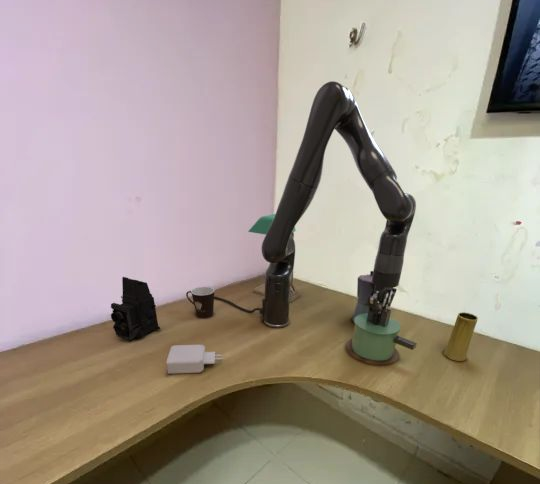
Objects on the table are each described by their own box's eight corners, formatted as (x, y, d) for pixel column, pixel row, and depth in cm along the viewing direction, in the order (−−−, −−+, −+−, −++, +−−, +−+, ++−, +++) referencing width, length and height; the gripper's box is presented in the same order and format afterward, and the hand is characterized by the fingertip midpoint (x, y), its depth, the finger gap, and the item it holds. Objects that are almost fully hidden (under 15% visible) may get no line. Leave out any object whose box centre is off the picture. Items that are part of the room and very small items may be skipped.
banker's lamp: (286, 304, 131) (290, 220, 116) (246, 293, 142) (246, 214, 126) (303, 293, 143) (309, 215, 128) (266, 284, 154) (267, 210, 138)
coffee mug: (220, 315, 121) (218, 291, 117) (200, 321, 116) (198, 297, 112) (205, 305, 129) (203, 283, 125) (186, 311, 124) (183, 287, 120)
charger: (222, 373, 88) (168, 375, 87) (223, 355, 96) (174, 357, 95) (221, 359, 86) (166, 361, 85) (222, 342, 94) (172, 343, 93)
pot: (341, 348, 100) (347, 307, 93) (364, 334, 108) (371, 295, 102) (398, 375, 87) (410, 330, 81) (419, 357, 96) (430, 314, 90)
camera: (110, 339, 103) (96, 282, 94) (142, 323, 114) (132, 270, 105) (131, 347, 99) (119, 289, 90) (162, 329, 110) (154, 275, 101)
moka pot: (373, 314, 125) (382, 266, 116) (381, 332, 111) (392, 280, 102) (349, 312, 126) (356, 265, 117) (354, 331, 112) (363, 278, 103)
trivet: (339, 354, 98) (339, 353, 97) (355, 334, 110) (355, 332, 110) (391, 372, 90) (392, 370, 90) (402, 347, 102) (403, 346, 102)
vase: (463, 353, 100) (477, 313, 94) (467, 363, 95) (482, 322, 89) (442, 349, 102) (454, 310, 96) (445, 359, 97) (458, 318, 91)
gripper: (387, 260, 95) (377, 311, 102) (363, 270, 86) (354, 324, 93) (411, 266, 90) (399, 319, 97) (388, 276, 81) (377, 334, 89)
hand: (377, 321), depth 95 cm, fingers closed on pot, 2 cm apart
